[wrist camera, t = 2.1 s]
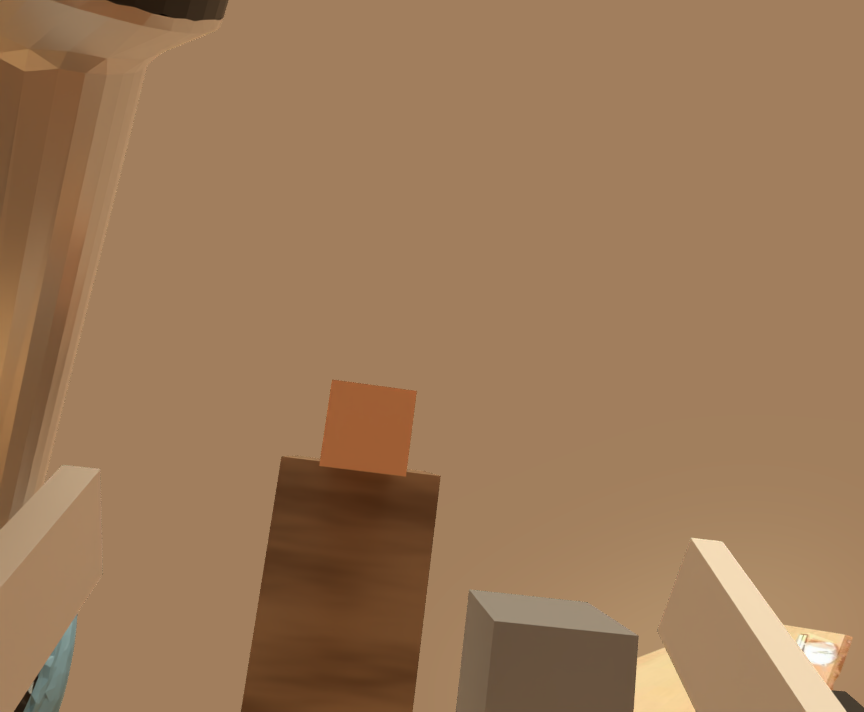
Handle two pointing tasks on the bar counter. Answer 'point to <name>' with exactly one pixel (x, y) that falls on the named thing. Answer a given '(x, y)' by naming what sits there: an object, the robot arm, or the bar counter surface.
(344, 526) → the tall post
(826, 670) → the bar counter surface
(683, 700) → the bar counter surface
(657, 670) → the bar counter surface
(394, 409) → the beam
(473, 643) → the low post
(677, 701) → the bar counter surface
